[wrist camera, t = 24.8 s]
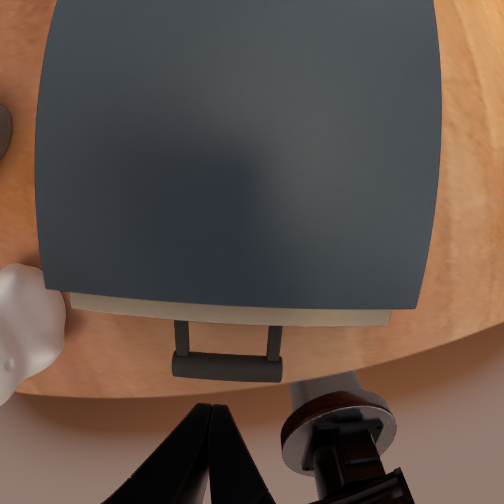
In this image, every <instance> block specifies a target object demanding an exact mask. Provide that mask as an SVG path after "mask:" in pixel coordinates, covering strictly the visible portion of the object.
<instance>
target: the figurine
mask: <svg viewBox="0 0 504 504" xmlns="http://www.w3.org/2000/svg"><path fill="white" fill-rule="evenodd" d="M65 321H66V307H65V302H64V299H63V296H62V294H61V292H60V291H57V290H49V289H46V288H45V284H44V278H43V271H42V270H40V269H38V268H36V267H33V266H26V265H23V264H19V263H13V264H9V265H7V266H5V267H3V268H1V269H0V405H2V404H3V403H5V402H6V401H7V400H8V399H9V398H10V397H11V395H12V394H13V393H14V391H15V390H16V388H17V387H18V385H19V383H20V382H21V381H23V380H25V379H27V378H29V377H31V376H33V375H35V374H37V373H39V372H41V371H43V370H44V369H46V368H47V367H49V366H50V365H51V364H52V363H53V362H54V361H55V360H56V359H57V358H58V357H59V356H60V354H61V353H62V351H63V348H64V326H65Z"/></svg>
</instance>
